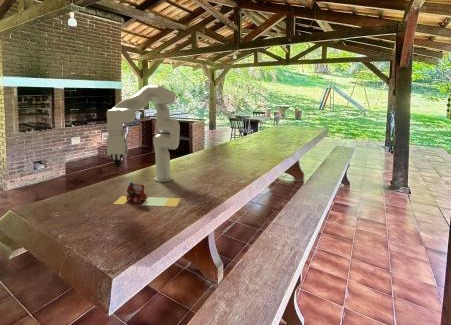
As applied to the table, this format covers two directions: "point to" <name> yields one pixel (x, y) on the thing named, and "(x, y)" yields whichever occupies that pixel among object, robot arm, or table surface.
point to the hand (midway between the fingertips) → (118, 166)
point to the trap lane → (153, 201)
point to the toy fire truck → (135, 193)
